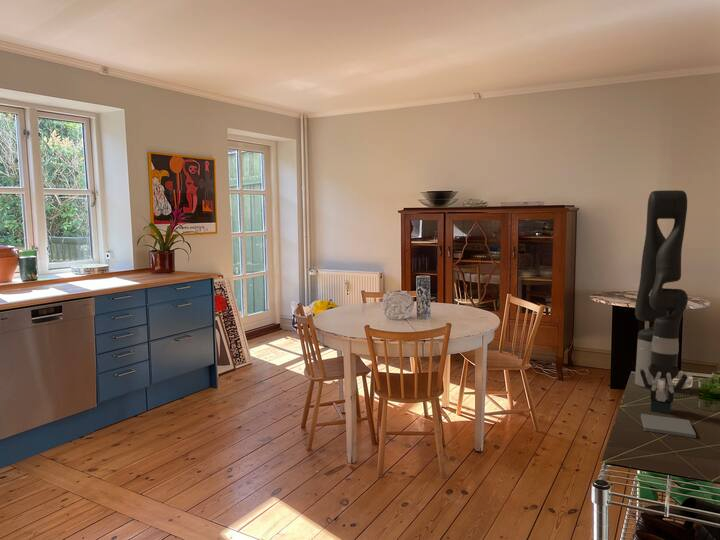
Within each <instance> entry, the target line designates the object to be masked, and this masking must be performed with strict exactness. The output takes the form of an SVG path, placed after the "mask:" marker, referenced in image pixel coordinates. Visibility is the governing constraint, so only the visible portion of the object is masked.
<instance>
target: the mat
mask: <svg viewBox="0 0 720 540" xmlns="http://www.w3.org/2000/svg"><path fill="white" fill-rule="evenodd" d="M640 419H641V423H642V427H644V428H643V431H644V432H649V431H650V433H658V434H663V435H670V436H678V437H685V438H691V439H692V438H693V439H696V438H697V434H696V432H695V430H694V428H693V426H692V423H691V421H690V420H688V419H683V418H675V417H668V416H661V415H652V414H647V413H640Z"/></svg>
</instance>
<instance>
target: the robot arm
mask: <svg viewBox="0 0 720 540" xmlns="http://www.w3.org/2000/svg"><path fill="white" fill-rule="evenodd" d="M646 208H647V209H646V213H647V214H646V227H645V229H646V230H645V238H644V245H643V250H642V257H641V258H642V259H641V267H640V279H639V285H638V290H637V296H636V300H635V305H634V315H635V318H636V319H637V320H639V321H641V322H653V326H650V327H647V328H645V329H644V328H643V329H640V330H639V331H638V332H637V333H638V334H637V345H636V361H635V375H634V378H635V379H634V384H635V385H637V386H638V387H641V388H645V389H648V390H650V395H649V398H650V400H653V401H655V399H656V396H657V388H656V386H657V383H658V379H660V378H666V382H667V384H668V388H669V390H668V391H667V396H666V400H667V401H668V403H672V404H673V402H674V394H675V393H680V392H682V391H681V390H682V389H683V387H684V385H685V383H686V381H687V380H688V378H689V377H688V375H687V373H684V372H683V373H682V372H681V371H679V369H678V361H679V352H680V349H679V348H680V347H679V346H680V343H679V335H680V324H681V320H682V317H683V314H684V312H685V310H686V308H687V304H688V301H689V297H688V294H687V292H686V290H683V289H681V288H667V287H666V288H663V287H664V285H665V284H667V283H675V282H679V281H680V280H681V277H682V251H683V250H682V249H683V241H684V237H685V236H684V235H685V229H686V221H687V213H688V212H687V211H688V196H687V193H686V192H685V191H684V190H679V189H677V190H669V189H668V190H653V191H651V192H650V194H649V197H648V200H647V207H646ZM664 219H665V220H669V219H670V220H674V224H673V227H672V230H671V232H669V235H668V236H667V237H665V236H664V235H663V232H662V230H661V229H660V227H659V226H660V225H659V224H658V223H659V222H658V220H664ZM670 312H671V313H670ZM677 376H678V377H677ZM676 377H677V378H678V381H677V383H676V385H675V386H674V385H673V381H674V380H675V378H676Z"/></svg>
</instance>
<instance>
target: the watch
mask: <svg viewBox="0 0 720 540" xmlns="http://www.w3.org/2000/svg"><path fill="white" fill-rule="evenodd" d="M656 388H657V389H656V399H655V401H653V400H651V399H650V400H651V401H650V412H655V413H661V414H669V415H671V412H672V410H673V409H672V405H673V402H672V403H668V401H667V395H668V391H669V388H668V384H667V382H666V378H660V379H658V383H657V386H656Z"/></svg>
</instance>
